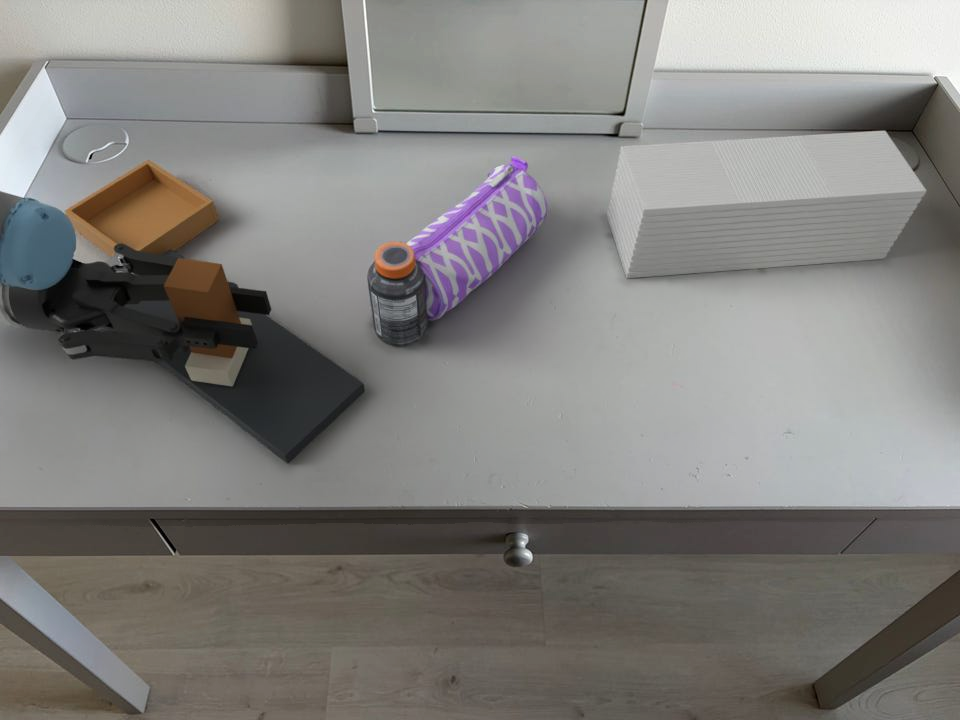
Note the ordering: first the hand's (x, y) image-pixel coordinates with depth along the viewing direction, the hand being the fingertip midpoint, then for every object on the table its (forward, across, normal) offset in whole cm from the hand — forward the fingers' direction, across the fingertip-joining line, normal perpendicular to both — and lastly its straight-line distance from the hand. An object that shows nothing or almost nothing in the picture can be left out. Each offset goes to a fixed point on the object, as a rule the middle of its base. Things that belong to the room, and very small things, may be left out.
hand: (260, 319), depth 75 cm
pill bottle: (+12, -8, -9) cm, 17 cm away
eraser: (-5, 0, -7) cm, 9 cm away
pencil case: (+18, -19, -9) cm, 27 cm away
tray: (-22, -19, -9) cm, 31 cm away
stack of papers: (+50, -29, -9) cm, 59 cm away
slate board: (-6, -2, -9) cm, 11 cm away
